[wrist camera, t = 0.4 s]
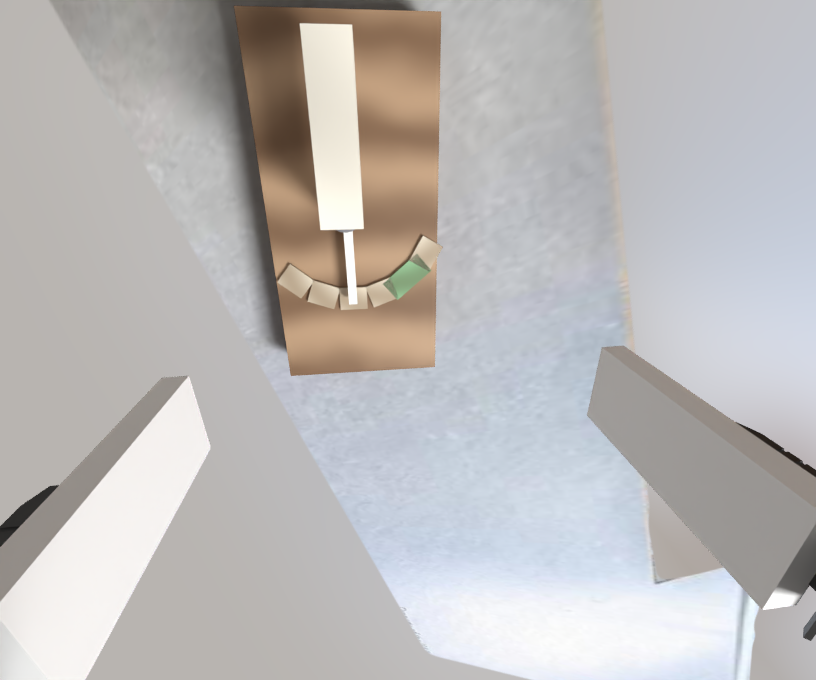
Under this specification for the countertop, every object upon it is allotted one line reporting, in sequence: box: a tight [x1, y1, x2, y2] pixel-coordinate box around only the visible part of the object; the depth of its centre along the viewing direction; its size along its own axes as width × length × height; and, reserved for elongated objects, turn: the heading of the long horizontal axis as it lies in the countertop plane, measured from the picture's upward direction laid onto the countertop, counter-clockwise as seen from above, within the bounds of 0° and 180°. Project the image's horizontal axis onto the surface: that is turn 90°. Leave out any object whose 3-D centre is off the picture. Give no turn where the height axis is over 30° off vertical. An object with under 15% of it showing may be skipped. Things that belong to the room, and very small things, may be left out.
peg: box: [300, 23, 364, 304], centre depth 26 cm, size 17×3×9 cm, turn 1°
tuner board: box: [234, 6, 443, 376], centre depth 33 cm, size 28×14×4 cm, turn 1°
